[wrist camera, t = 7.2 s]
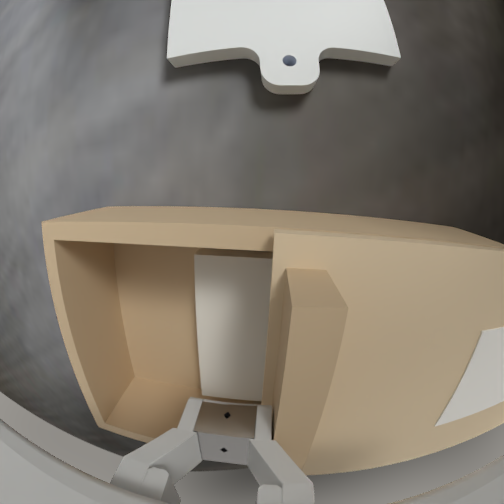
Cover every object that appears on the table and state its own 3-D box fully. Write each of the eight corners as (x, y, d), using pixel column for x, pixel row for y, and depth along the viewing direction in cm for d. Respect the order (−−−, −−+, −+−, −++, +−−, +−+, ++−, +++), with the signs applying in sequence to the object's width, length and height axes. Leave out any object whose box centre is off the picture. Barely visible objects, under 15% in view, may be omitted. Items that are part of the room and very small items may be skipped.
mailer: (453, 227, 14) (516, 249, 8) (407, 388, 17) (434, 440, 11) (108, 206, 15) (41, 221, 9) (132, 375, 18) (98, 426, 13)
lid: (579, 259, 7) (606, 272, 4) (521, 406, 10) (537, 427, 7) (274, 229, 8) (275, 257, 5) (255, 465, 12) (250, 512, 8)
